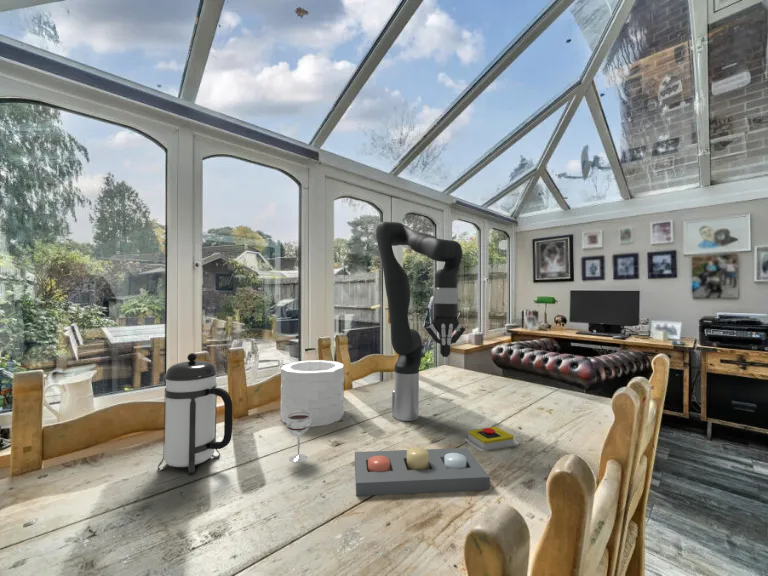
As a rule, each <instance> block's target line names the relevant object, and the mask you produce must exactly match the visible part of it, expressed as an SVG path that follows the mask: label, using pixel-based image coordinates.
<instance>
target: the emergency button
mask: <svg viewBox="0 0 768 576" xmlns="http://www.w3.org/2000/svg"><path fill="white" fill-rule="evenodd" d="M467 438H468V439H467ZM467 438H464V442H466V441H467V442H466V443H467V444H469V445H471V446H472V447H473V446H474V447H473V448H475V449H476V450H478V451H480V452H486V451H492V450H498V449H503V448H508V447H514V446H518V445H520V443H519V442H518V441H517V440H514V435H512V434H510V433H509V432H507V431H505V430H504V429H501V428H499V427H498V426H489V427H484V428H478V429H471V430H469V431H468V437H467Z"/></svg>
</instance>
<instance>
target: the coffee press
mask: <svg viewBox="0 0 768 576" xmlns="http://www.w3.org/2000/svg"><path fill="white" fill-rule="evenodd" d="M197 357H198V356H197V354H196V353H189V354H188V355H187V357H186V358H187V360H188V361H183V362H178V363H175V364H173V365H171V366H169V367H168V369H167V370H166V373H164V375H163V377H164V380H165V388H164V398H165V401H164V407H163V409H164V410H163V413H164V414H163V417H164V418H163V435H164V450H163V451H162V452H163V453H162V459H161V460H160V462H159V463H158V465H157V471H159V470H160V468H161V467H160V466H161V465H162V463H163V462H164V461H165V463H166V464H165V465H164V466H163V467H162V468H163V469H164V470H165V469H166V468H167V467H168V466H170V467H176V468H187V467H188V475H189V476H190V475H191V476H192V475H195V474H196V466H197V465H199V464H201V463H204V462H206V461H207V460H208V459H210V458H211V457H212V458H213V459H220V457H221V453H220V451H219V450H220V449H221V450H222V449H223V448H225V447H227V446H228V445H229V444H230V443H231V440H232V435H233V414H234V413H233V410H234V409H233V401H232V397H231V395H230V393H229V392H228V391H227V390H226V389H223V388H220V387H218V383H217V375H218V369H216V366H215V364H213V363H211V362H210V361H205V360H197ZM217 397H220V398H221V400H222V401H223V405H224V423H223V424H224V426H223V427H224V429H223V430H224V431H223V438H222V440H221V441H217ZM215 451H216V452H217V453H218V455H214V453H215Z"/></svg>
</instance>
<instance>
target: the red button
mask: <svg viewBox="0 0 768 576" xmlns="http://www.w3.org/2000/svg"><path fill="white" fill-rule="evenodd" d="M380 471H390V459H389V458H387V457H385V456H373V457H370V458H369V459H368V471H367V472H380Z"/></svg>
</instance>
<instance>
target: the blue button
mask: <svg viewBox="0 0 768 576" xmlns="http://www.w3.org/2000/svg"><path fill="white" fill-rule="evenodd" d="M444 465H445V467H446V468H447V469H451V468H466V457H465V456H464V455H462V454H459V453H448V454H446V455H445V457H444Z"/></svg>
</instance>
